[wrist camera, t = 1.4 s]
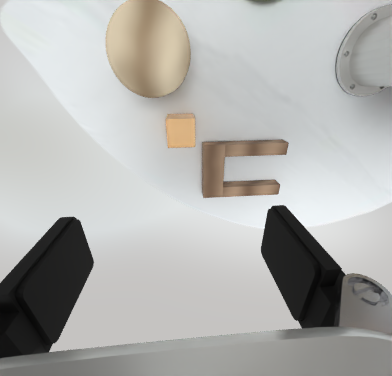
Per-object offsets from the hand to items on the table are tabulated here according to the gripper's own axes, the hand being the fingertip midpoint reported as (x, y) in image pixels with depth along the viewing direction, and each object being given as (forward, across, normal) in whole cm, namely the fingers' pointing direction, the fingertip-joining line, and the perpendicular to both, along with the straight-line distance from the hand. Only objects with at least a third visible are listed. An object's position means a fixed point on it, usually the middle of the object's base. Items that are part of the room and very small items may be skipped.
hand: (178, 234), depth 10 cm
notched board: (+30, -12, +8) cm, 34 cm away
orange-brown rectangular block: (+30, 0, 0) cm, 30 cm away
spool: (+30, +2, -10) cm, 32 cm away
